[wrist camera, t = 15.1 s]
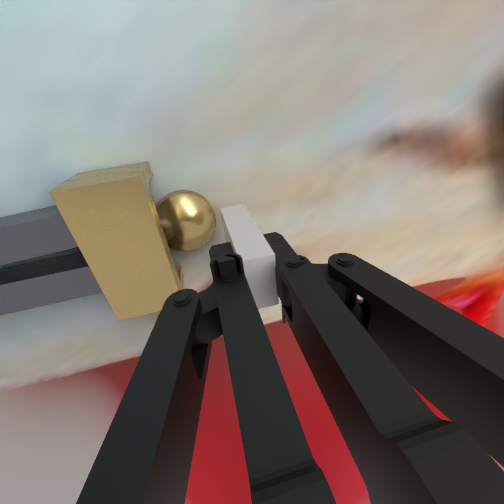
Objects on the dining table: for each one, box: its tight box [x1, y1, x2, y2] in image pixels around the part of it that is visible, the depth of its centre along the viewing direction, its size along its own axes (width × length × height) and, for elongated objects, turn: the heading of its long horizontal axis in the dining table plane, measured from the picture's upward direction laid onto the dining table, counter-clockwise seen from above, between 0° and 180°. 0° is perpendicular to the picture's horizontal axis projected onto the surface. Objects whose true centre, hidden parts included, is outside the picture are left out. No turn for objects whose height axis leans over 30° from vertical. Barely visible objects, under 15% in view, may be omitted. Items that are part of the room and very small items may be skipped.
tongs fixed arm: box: [0, 190, 216, 315], centre depth 16 cm, size 23×5×2 cm, turn 98°
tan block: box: [49, 162, 183, 321], centre depth 16 cm, size 4×8×4 cm, turn 8°
